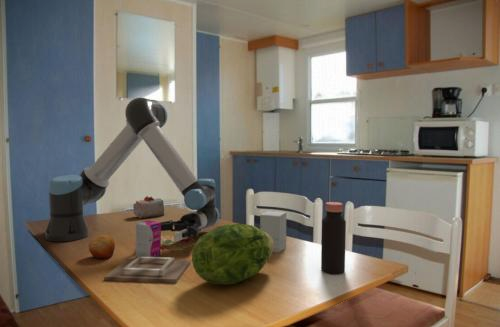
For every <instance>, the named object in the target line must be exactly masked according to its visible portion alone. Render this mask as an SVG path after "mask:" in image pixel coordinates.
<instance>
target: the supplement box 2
mask: <svg viewBox="0 0 500 327" xmlns="http://www.w3.org/2000/svg"><path fill="white" fill-rule="evenodd" d="M259 219H260V220H259V221H260V222H259V226H260V227H259V229H260V230H262V231H264V232H266V233H267V234H269V235H270V237H271V238H272V239H273V242H274V249H273V252H274V253H281V252H282V251H283V250H285V249H286V248H287V212H283V211H270V210H267V211H265V212H263V213H261V214H260V216H259Z"/></svg>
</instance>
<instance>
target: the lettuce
mask: <svg viewBox="0 0 500 327" xmlns="http://www.w3.org/2000/svg"><path fill="white" fill-rule="evenodd" d="M273 249H274V242H273V239H272V238H271V237H270V235H269V234H267V233H266V232H264V231H262V230H260V227H259V228H258V227H257V226H254V225H251V224H244V223H231V224H230V223H229V224H222V225H220V226H217V227H215V228H213V229H211V230H210V231H207V232H206V233H204V234H202V235H201V236H200V237H199V238H198V239H197V240H196V242H195V244H194V246H193V248H192V252H191V261H192V265H193V269H194V270H195V273H196V274H197V275H198V277H199V278H200V279H202V280H203V281H205V282H206V283H210V284H212V285H235V284H237V283H240V282H243V281H244V280H247V279H248V278H251V277H253V276H256V275H257V274H258V273H259V272H260V271H261V270H262V269H263V268H264V266H265V265H266V264H267V262H268V261H269V259H270V258H271V256H272V254H273Z"/></svg>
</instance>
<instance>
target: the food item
mask: <svg viewBox="0 0 500 327" xmlns="http://www.w3.org/2000/svg"><path fill="white" fill-rule="evenodd" d="M132 206H133V215H135V216H136V217H137V218H139V219H147V218H155V217H156V218H157V217H162V216H165V208H164V207H165V206H164V199H162V198H153V197H152V196H148V195H146V197H145V196H144V198H143V199H140V200H136V201H135V203H133V205H132Z"/></svg>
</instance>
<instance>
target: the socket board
mask: <svg viewBox="0 0 500 327" xmlns="http://www.w3.org/2000/svg"><path fill="white" fill-rule="evenodd" d="M190 265H191V260H186V259H181V260H180V259H179V260H178V259H175V257H165V256H164V257H162V256H160V257H137V258H136V257H135V258H127V259H125V260H123V262H121V263H120V264H118V265H117V266H116V267H114V268H113V269H112V270H111V271H110V272H108V273H107V274H106V275H104V276H103V278H104V279H103V280H104V281H114V282H115V281H117V282H138V283H139V282H141V283H163V284H165V283H166V284H177V283H178V281H179V280H180V279H181V277H182V276H183V275H184V273H185V272H186V270H187V269H188V268H189V266H190Z"/></svg>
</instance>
